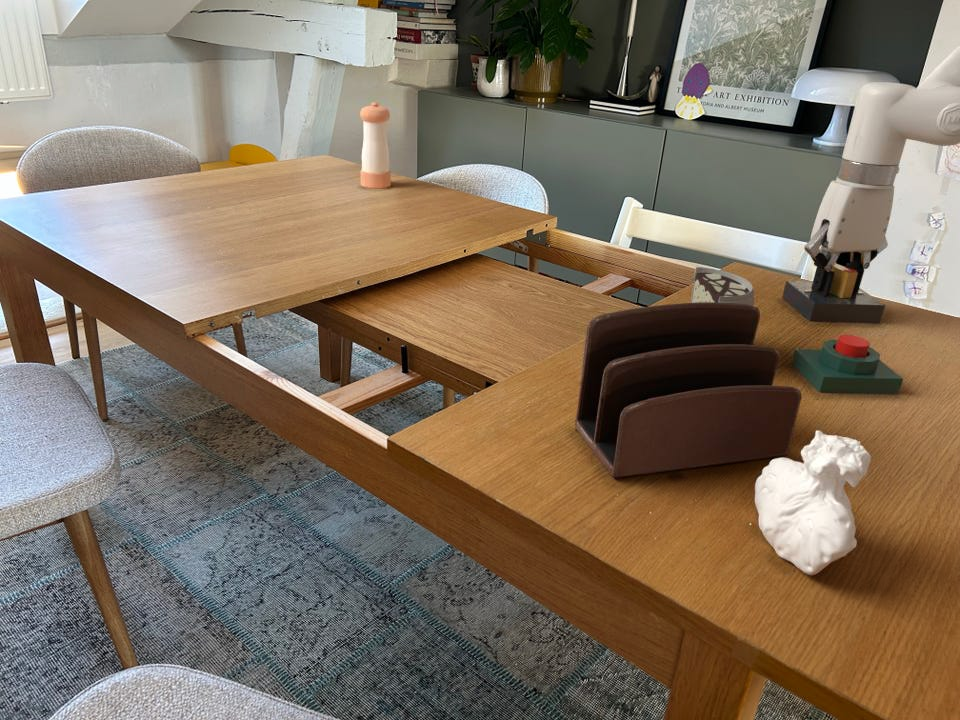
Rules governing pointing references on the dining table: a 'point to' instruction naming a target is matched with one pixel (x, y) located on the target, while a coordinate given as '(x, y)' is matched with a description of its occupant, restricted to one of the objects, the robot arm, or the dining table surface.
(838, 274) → the knob
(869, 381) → the button box
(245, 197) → the dining table surface
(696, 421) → the letter holder
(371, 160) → the salt shaker
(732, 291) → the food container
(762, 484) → the white tied bag
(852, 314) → the panel
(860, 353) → the button
